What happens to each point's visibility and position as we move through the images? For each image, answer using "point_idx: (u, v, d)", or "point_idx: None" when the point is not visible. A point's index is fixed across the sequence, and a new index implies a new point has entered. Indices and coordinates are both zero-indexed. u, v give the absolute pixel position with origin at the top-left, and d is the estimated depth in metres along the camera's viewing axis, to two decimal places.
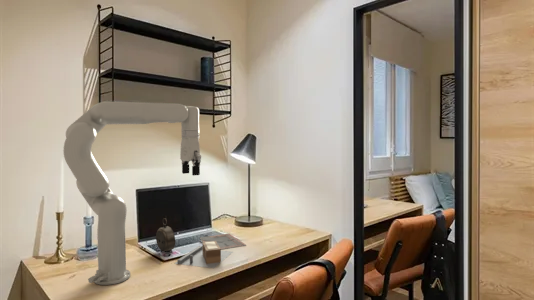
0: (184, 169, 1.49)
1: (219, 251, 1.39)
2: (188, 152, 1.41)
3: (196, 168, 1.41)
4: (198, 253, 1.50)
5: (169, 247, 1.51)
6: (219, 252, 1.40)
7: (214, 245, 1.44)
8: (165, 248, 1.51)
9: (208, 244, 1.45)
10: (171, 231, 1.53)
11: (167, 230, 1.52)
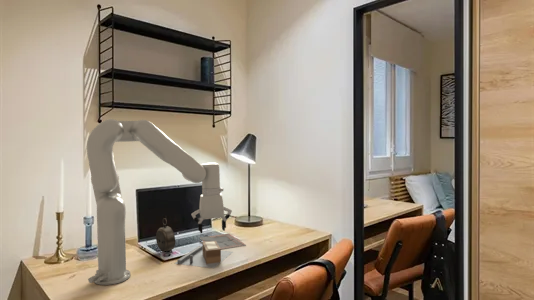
0: (222, 225, 1.46)
1: (219, 251, 1.39)
2: None
3: (198, 225, 1.43)
4: (198, 253, 1.50)
5: (169, 247, 1.51)
6: (219, 252, 1.40)
7: (214, 245, 1.44)
8: (165, 248, 1.51)
9: (208, 244, 1.45)
10: (171, 231, 1.53)
11: (167, 230, 1.52)
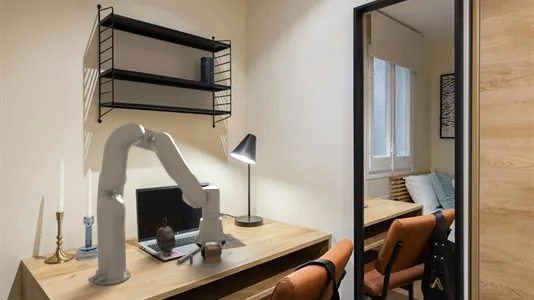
0: None
1: (219, 251, 1.39)
2: None
3: (201, 250, 1.43)
4: (198, 253, 1.50)
5: (169, 247, 1.51)
6: (219, 252, 1.40)
7: (214, 245, 1.44)
8: (165, 248, 1.51)
9: (208, 244, 1.45)
10: (171, 231, 1.53)
11: (167, 230, 1.52)
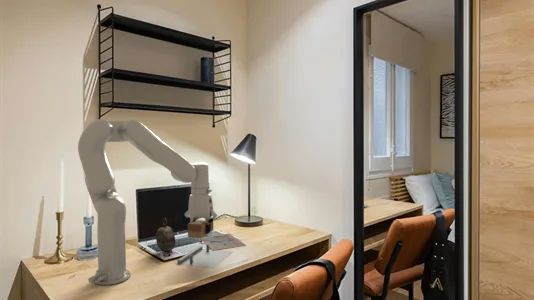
0: None
1: (199, 227, 1.39)
2: None
3: None
4: (198, 253, 1.50)
5: (169, 247, 1.51)
6: (199, 228, 1.39)
7: (202, 221, 1.44)
8: (165, 248, 1.51)
9: (200, 219, 1.47)
10: (171, 231, 1.53)
11: (167, 230, 1.52)
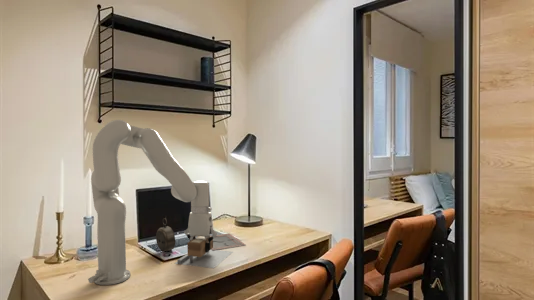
0: None
1: (199, 246, 1.39)
2: None
3: None
4: None
5: (169, 247, 1.51)
6: (199, 247, 1.39)
7: (202, 239, 1.45)
8: (165, 248, 1.51)
9: (199, 237, 1.47)
10: (171, 231, 1.53)
11: (167, 230, 1.52)
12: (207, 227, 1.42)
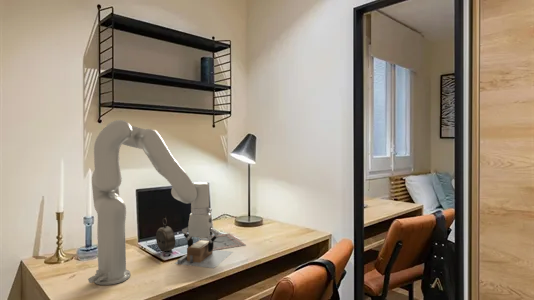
0: None
1: (198, 251, 1.39)
2: None
3: None
4: None
5: (169, 247, 1.51)
6: (198, 252, 1.39)
7: (201, 245, 1.45)
8: (165, 248, 1.51)
9: (199, 243, 1.47)
10: (171, 231, 1.53)
11: (167, 230, 1.52)
12: (207, 228, 1.42)
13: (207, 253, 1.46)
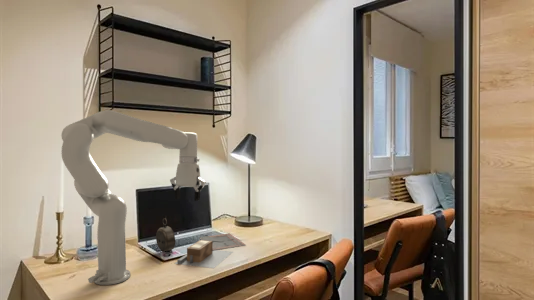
0: None
1: (198, 251, 1.39)
2: None
3: None
4: None
5: (169, 247, 1.51)
6: (198, 252, 1.39)
7: (201, 245, 1.45)
8: (165, 248, 1.51)
9: (199, 243, 1.47)
10: (171, 231, 1.53)
11: (167, 230, 1.52)
12: (194, 177, 1.44)
13: (207, 253, 1.46)
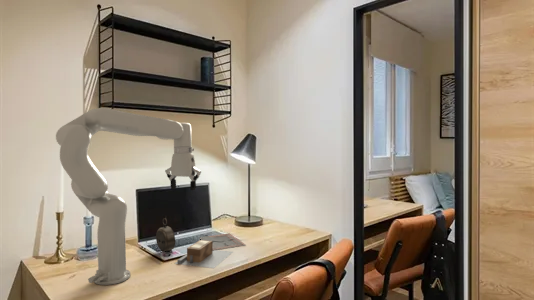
0: None
1: (198, 251, 1.39)
2: None
3: None
4: None
5: (169, 247, 1.51)
6: (198, 252, 1.39)
7: (201, 245, 1.45)
8: (165, 248, 1.51)
9: (199, 243, 1.47)
10: (171, 231, 1.53)
11: (167, 230, 1.52)
12: (189, 167, 1.45)
13: (207, 253, 1.46)
